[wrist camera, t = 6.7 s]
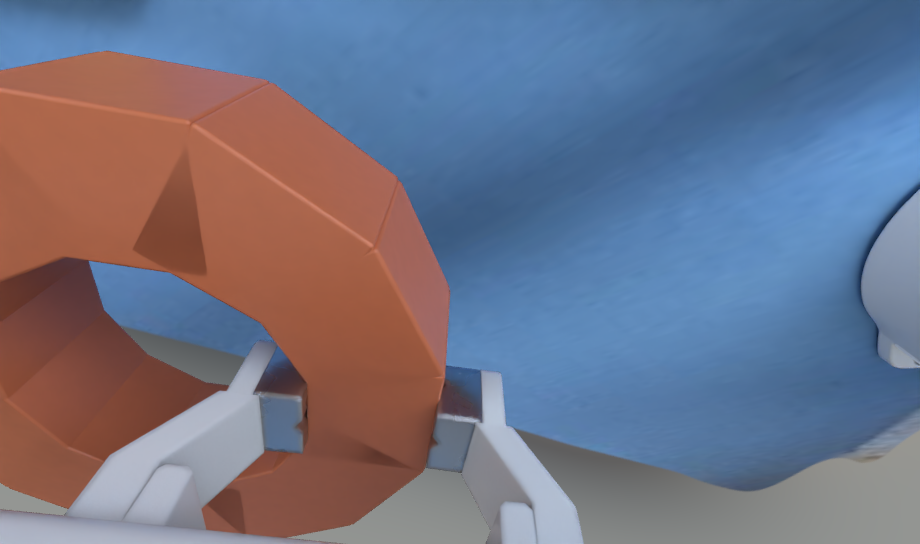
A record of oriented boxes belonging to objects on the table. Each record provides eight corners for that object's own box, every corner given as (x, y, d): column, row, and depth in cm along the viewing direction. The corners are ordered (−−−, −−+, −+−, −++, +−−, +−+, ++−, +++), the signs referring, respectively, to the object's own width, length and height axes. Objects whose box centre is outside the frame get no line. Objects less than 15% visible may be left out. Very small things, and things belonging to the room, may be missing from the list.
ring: (484, 118, 10) (490, 173, 7) (415, 462, 16) (405, 560, 13) (-138, 5, 9) (-416, 16, 6) (55, 419, 15) (-35, 515, 12)
